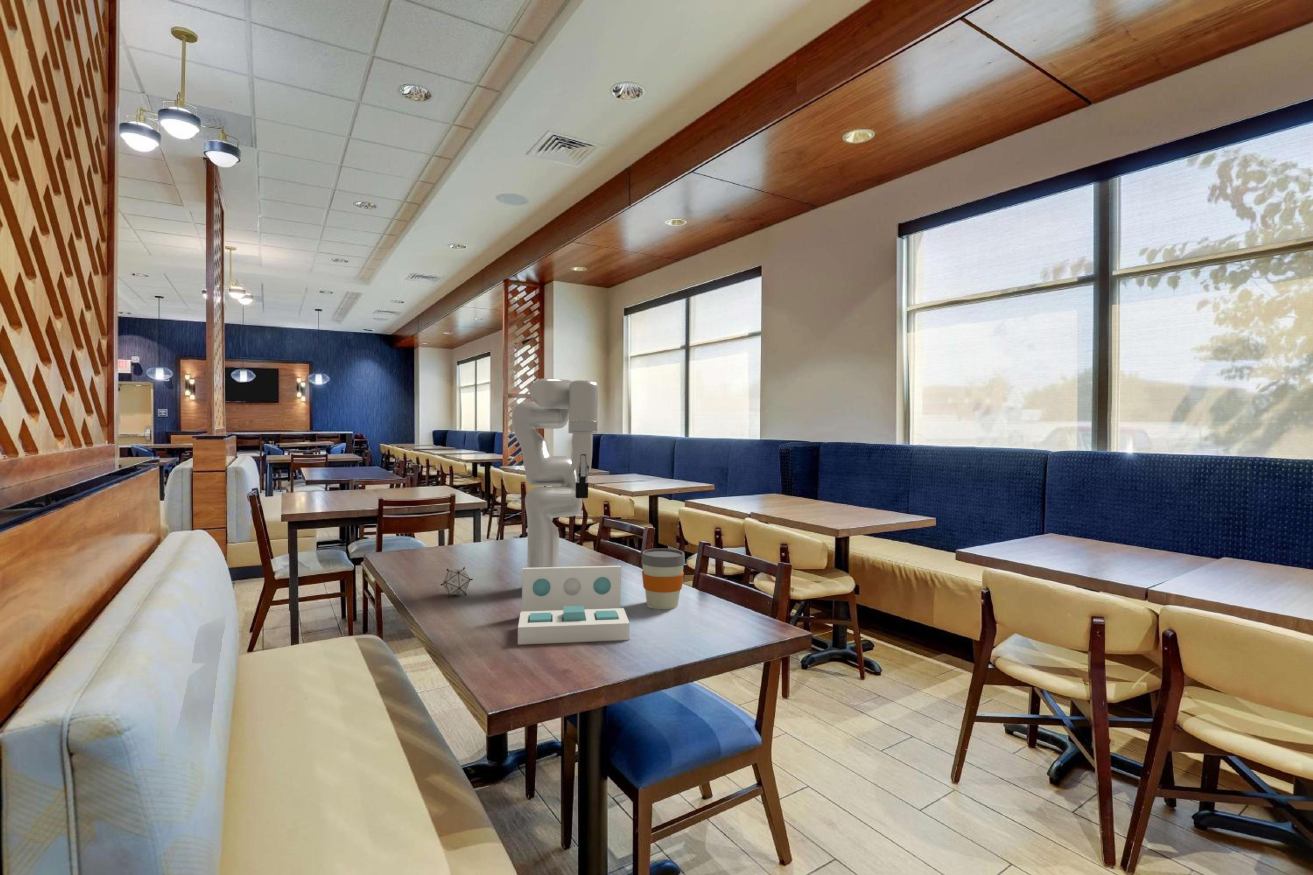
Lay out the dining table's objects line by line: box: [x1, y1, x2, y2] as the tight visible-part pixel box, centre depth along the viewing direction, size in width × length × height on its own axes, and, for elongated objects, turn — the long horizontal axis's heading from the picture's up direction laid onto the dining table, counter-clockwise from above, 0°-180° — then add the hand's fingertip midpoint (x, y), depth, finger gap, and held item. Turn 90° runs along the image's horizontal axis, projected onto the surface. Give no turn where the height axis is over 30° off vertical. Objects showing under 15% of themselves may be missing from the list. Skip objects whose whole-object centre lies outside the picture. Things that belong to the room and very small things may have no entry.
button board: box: [517, 607, 631, 646], centre depth 148 cm, size 12×26×4 cm, turn 100°
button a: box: [530, 613, 551, 623], centre depth 147 cm, size 5×5×3 cm
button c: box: [595, 610, 618, 620], centre depth 150 cm, size 5×5×3 cm
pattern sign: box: [521, 565, 622, 612], centre depth 162 cm, size 6×26×13 cm, turn 100°
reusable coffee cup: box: [640, 548, 686, 610], centre depth 173 cm, size 13×12×15 cm
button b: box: [563, 606, 585, 621], centre depth 148 cm, size 5×5×3 cm
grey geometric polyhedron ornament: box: [440, 566, 474, 598], centre depth 179 cm, size 9×8×10 cm
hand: (581, 497), depth 159 cm, fingers closed
